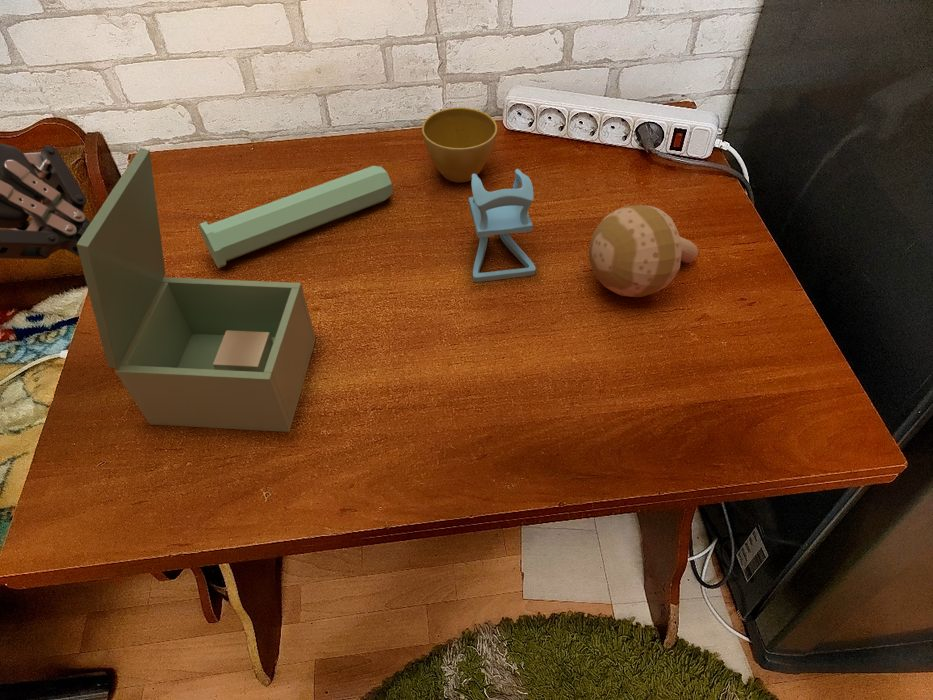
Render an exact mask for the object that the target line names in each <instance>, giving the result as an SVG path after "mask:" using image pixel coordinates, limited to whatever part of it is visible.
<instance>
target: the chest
mask: <svg viewBox="0 0 933 700" xmlns="http://www.w3.org/2000/svg"><path fill="white" fill-rule="evenodd" d="M226 330H229V331H252V332H269V333H270V335H271V338H272V341H273V345H272V348H271V351H270V354H269V357H268V360H267V363H266V366H265V369H264V372H249V371H229V370H215V368H214V366H213V362H214V360H215V357H216V355H217V352H218V350H219V347H220V345H221V342H222V340H223V337H224V335H225V332H226ZM316 340H317V337H316V333H315V330H314V326H313V323H312V319H311V315H310V311H309V308H308V305H307V301H306V296H305V292H304V289H303V286H302V283H301V282H288V281H269V280H268V281H265V280H242V279H241V280H240V279H221V278H219V279H218V278H217V279H216V278H199V277H198V278H195V277H194V278H193V277H176V276H175V277H173V276H172V277H171V276H164V278H163V280H162V282H161V284H160V286H159V288H158V290H157V292H156V294H155V296H154V298H153V300H152V302H151V304H150V305H149V307H148V309H147V311H146V313H145V315H144V317H143V319H142V321H141V323H140V325H139V327H138V329H137V331H136V333H135V335H134V337H133V339H132V341H131V342H130V344H129V346H128V348H127V350H126V352H125V354H124V356H123V358H122V360H121V362H120V364H119V366H118V368H117V369H116V368H115V370H114V372H115V374H116V376H117V377H118V379H119V380H120V382H121V383H122V384H123V386H124V388H125V390H126V391H127V393H128V394H129V395H130V397H131V399H132V400H133V401H134V403H135V405H136V406H137V407H138V409H139V411H140V412H141V414H142V416H143V417H144V418H145V420H146V421H147V423H148V424H149V425H151V426H152V425H153V426H171V427H187V428H188V427H190V428H204V429H205V428H206V429H207V428H209V429H227V430H244V431H261V432H280V433H290V432H291V429H292V425H293V421H294V418H295V414H296V411H297V408H298V403H299V400H300V397H301V393H302V390H303V386H304V384H305V383H304V382H305V379H306V375H307V372H308V368H309V365H310V362H311V358H312V355H313V352H314V351H313V350H314V348H315V344H316V342H317V341H316Z"/></svg>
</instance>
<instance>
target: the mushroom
mask: <svg viewBox="0 0 933 700" xmlns="http://www.w3.org/2000/svg"><path fill="white" fill-rule="evenodd" d="M588 249H589V250H588V257H589V258H588V259H589V263H590V266H591V270H592V272H593V273H594V275H595V277H596V279H597V280H598V282H600V283H601V285H602V286H604V287H605V288H606V289H608V290H609V291H611V292H613V293H615V294H616V295H619V296H621V297H631V298H642V297H646V296H650V295H652V294H654V293H658V292H659V291H661V290H663V289H665V288H666V287H668V286H669V285H670V284H671V282H673V280H674V279H675V277H676V276H677V274H678V272H679V271H680V269H681V263H686V264H689V263H692V262H693V261H695V260H696V258H697V257H698V254H699V249H698V247H697V245H696V244H695V243H694V242H692V241H691V240H689V239H686V238H684V237H682V236H680V233H679V231H678V228H677V226H676V225H675V222H674V220H673V218H672V217H671V216H670V215H669V214H667V213H666V212H665V211H663V209H660V208H658V207H655V206H652V205H645V204H632V205H625V206H622V207H620V208H617V209H616V210H614V211H611V212H610V213H609V214H606V216H605V217H603V218H602V220H601V221H600V222H599V224H598V225H597V226H596V228H595V229H594V231H593V234H592V236H591V238H590V241H589V248H588Z"/></svg>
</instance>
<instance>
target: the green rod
mask: <svg viewBox="0 0 933 700" xmlns="http://www.w3.org/2000/svg"><path fill="white" fill-rule="evenodd" d="M392 194H393V183H392V180H391V179H390V175H389V174H388V172H387V170H386V169H384V168H383V167H382V166H380V165H371V166H368V167H365V168H363V169H360V170H357V171H355V172H352V173H348V174H346V175H342V176H340V177H337V178H335V179H332V180H329V181H326V182H323V183H321V184H318V185H316V186H312V187H310V188H307V189H303V190H301V191H299V192H295V193H294V194H293V193H292V194H289V195H287V196H284V197H281V198H279V199H277V200H273V201H271V202H268V203H265V204H261V205H259V206H256V207H253V208H251V209H248V210H246V211H243V212H240V213H237V214H234V215H231V216H230V217H225V218H224V219H221V220H218V221H215V222H212V223H208V222H207V221H204V222H203V221H202V222H200V223H199V225H198V229H199V232H200V234H201V236H202V239H203V242H204V244H205V246H206V248H207V250H208V252H209V254H210V257H211V258H212V260H213V262H214V263H215V265H216V267H217V268H218V269H221V268H223V267H226V265H227V262H229V261H232V260H234V259H237V258H240V257H242V256H245V255H247V254H250V253H252V252H256V251H258V250H261V249H263V248H266V247H268V246H271V245H273V244H277V243H279V242H281V241H284V240H287V239H289V238H292V237H295V236H297V235H299V234H302V233H305V232H308V231H310V230H313V229H315V228H318V227H320V226H323V225H326V224H328V223H332V222H334V221H336V220H339V219H341V218H344V217H347V216H349V215H352V214H354V213H357V212H360V211H362V210H365V209H368V208H370V207H373V206H376V205H378V204H381V203H383V202H385V201H386V200H387V199H389V198H390V197H391V195H392Z"/></svg>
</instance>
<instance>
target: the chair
mask: <svg viewBox="0 0 933 700" xmlns="http://www.w3.org/2000/svg"><path fill="white" fill-rule="evenodd" d="M514 177H515V178H514V180H513V184H512V188H502V189H497V190H492V191H487V189H486V188H485V187H484V185H483V182H482V180H481V178H480V177H479V176H478V175H476V174H472V180H471V182H470V183H471V193H472V196H470V197H468V205H469V210H470V214H471V218H472V221H473V225H474V228H475V233H476V237H477V238H479V242H478V247H477V252H476V256H475V259H474V263H473V268H472V281H473V282H474V283H484V282H491V281H498V280H507V279H517V278H523V277H532V276H535V275H536V270H537V267H536V265H535V264H534V262H533V261H532V259H531V258H530V257H529V256H528V255H527V254H526V252H524V251H523V249H522V248H521V247H520V245H518V243H516V241H515V240H514V239H513V238H512V236H511V235H510V234H519V233H520V234H523V233H531V232H533V230H534V229H533V228H534V227H533V226H534V225H533V222H532V219H531V217H530V214H529V209H530V207H531V205H532V203H533V201H534V197H535V196H534V186H533V183H532V180H531V179H530V177H529V176H528V175H527V174H525V173H523V172H522V171H521V170H520V169H519V168H516V169H515V170H514ZM520 186H521V187H520ZM498 235H499V239H500V240H501V242H502V243H503V244H504V246H505V247H506V248H507V249H508V250H509V252H511V253H512V254H513V255H514V257H516V259H517V260H518V261H519V262H520V263H521V264H522V265H523V266H524V267H522V268H512V269H503V270H495V271H494V270H493V271H487V272H486V271H485V272H481V268H482V265H483V262H484V258H485V256H486V252H487V247H488V241H489V237H492V236H493V237H494V236H498Z"/></svg>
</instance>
